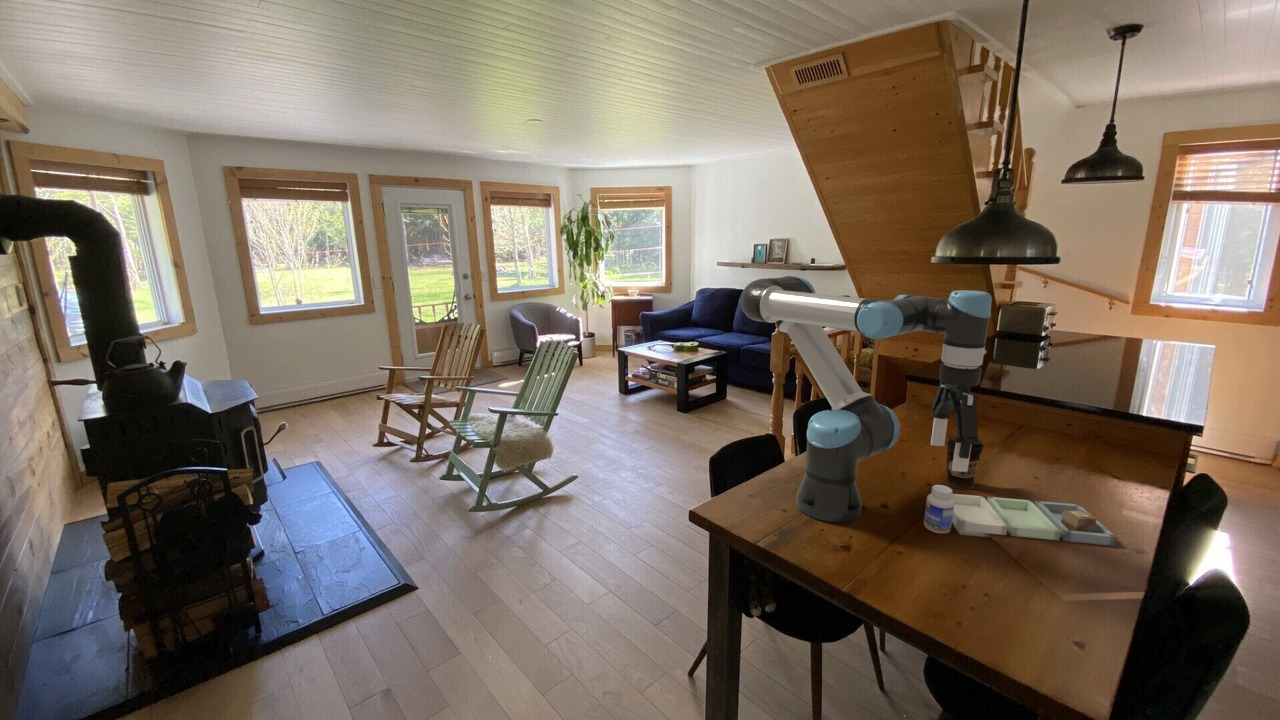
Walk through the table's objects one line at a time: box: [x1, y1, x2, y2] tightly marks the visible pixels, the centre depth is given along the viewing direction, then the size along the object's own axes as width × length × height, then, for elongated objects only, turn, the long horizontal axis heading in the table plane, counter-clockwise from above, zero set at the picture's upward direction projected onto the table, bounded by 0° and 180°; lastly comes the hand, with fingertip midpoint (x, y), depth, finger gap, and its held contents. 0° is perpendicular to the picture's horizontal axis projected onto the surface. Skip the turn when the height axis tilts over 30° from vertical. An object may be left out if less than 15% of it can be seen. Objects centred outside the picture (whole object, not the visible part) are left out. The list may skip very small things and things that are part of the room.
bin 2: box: [1034, 500, 1117, 547], centre depth 118 cm, size 9×14×3 cm, turn 166°
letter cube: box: [1061, 509, 1098, 533], centre depth 116 cm, size 4×4×4 cm
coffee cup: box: [945, 434, 985, 490], centre depth 139 cm, size 9×8×13 cm
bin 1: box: [951, 493, 1008, 538], centre depth 123 cm, size 9×14×3 cm, turn 166°
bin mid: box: [986, 496, 1061, 541], centre depth 120 cm, size 9×14×3 cm, turn 166°
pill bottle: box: [923, 484, 954, 534], centre depth 119 cm, size 5×5×10 cm
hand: (947, 457), depth 117 cm, fingers open, 13 cm apart
